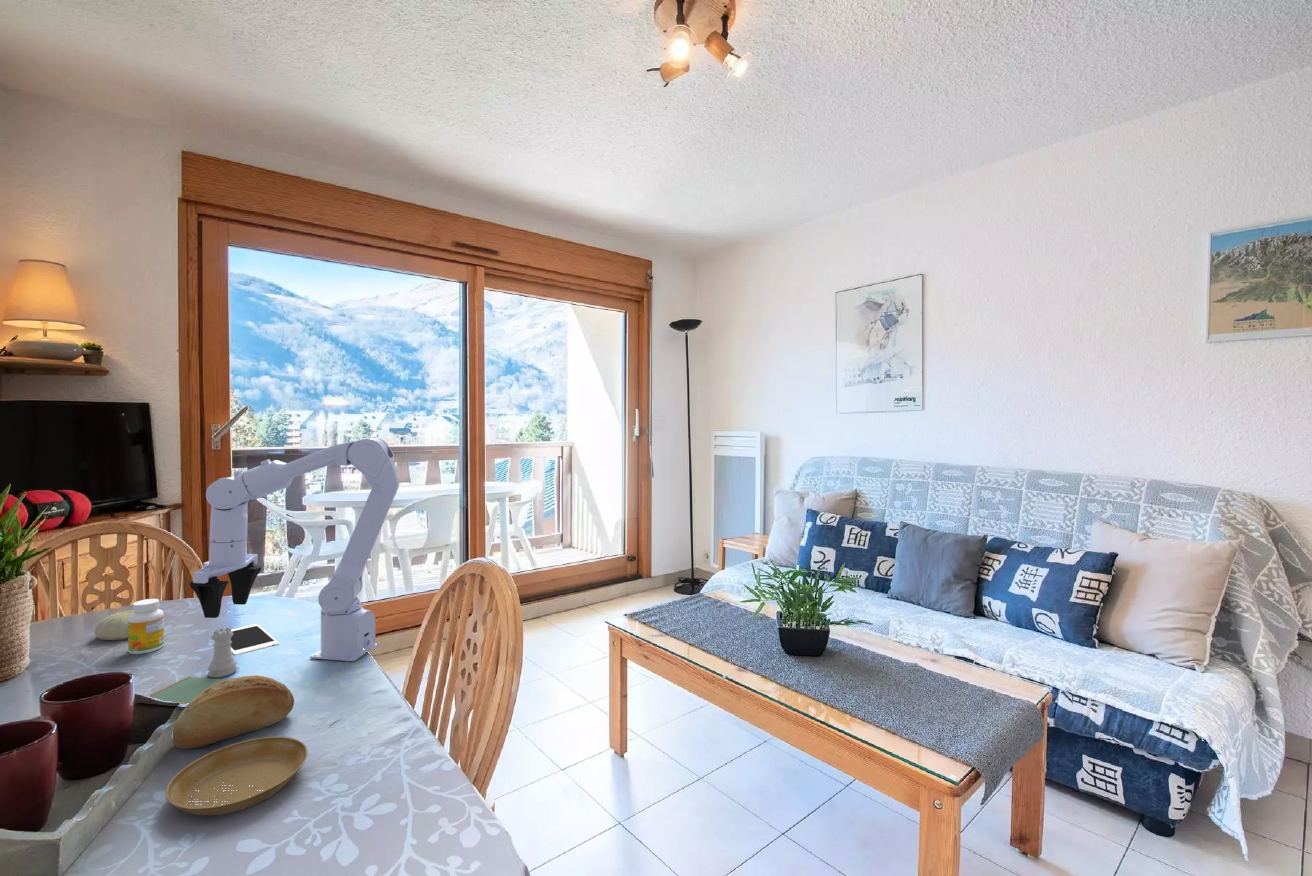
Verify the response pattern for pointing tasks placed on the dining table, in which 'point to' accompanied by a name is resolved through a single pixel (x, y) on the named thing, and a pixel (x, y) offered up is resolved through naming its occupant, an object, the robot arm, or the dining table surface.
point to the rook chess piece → (222, 655)
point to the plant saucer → (236, 775)
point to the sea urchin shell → (114, 626)
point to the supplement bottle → (145, 627)
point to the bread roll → (232, 710)
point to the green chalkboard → (184, 689)
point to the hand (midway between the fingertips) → (226, 610)
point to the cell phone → (250, 639)
